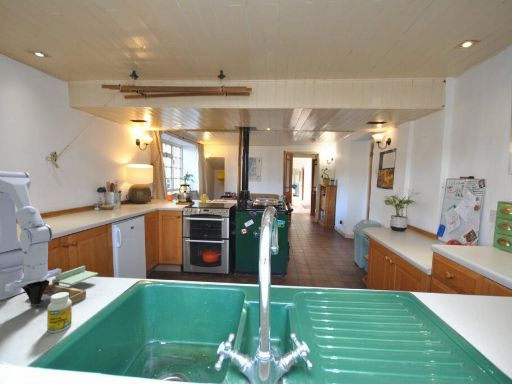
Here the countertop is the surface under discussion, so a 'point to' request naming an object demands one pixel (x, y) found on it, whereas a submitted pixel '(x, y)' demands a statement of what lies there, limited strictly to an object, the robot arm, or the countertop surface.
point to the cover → (74, 276)
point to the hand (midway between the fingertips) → (35, 303)
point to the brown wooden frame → (74, 293)
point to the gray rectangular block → (45, 301)
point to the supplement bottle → (59, 312)
